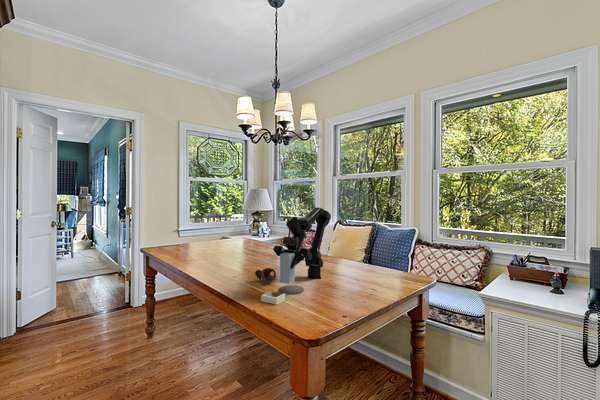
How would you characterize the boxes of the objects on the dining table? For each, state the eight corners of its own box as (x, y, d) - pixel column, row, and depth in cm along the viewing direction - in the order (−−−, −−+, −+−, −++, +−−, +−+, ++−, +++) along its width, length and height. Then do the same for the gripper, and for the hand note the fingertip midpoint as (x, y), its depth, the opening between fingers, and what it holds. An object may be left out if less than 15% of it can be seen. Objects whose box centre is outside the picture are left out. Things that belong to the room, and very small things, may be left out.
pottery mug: (278, 280, 155) (279, 269, 151) (271, 292, 147) (273, 281, 143) (257, 273, 157) (258, 262, 153) (250, 285, 149) (251, 274, 145)
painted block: (285, 279, 137) (285, 252, 137) (294, 280, 135) (294, 253, 134) (279, 282, 133) (279, 254, 132) (289, 283, 130) (289, 255, 130)
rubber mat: (302, 286, 144) (302, 284, 144) (305, 293, 132) (305, 292, 132) (278, 286, 142) (278, 285, 142) (279, 294, 130) (279, 293, 130)
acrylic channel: (270, 296, 128) (270, 290, 128) (285, 299, 124) (285, 293, 124) (261, 301, 122) (261, 295, 122) (276, 304, 118) (276, 298, 118)
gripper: (274, 229, 141) (261, 256, 132) (308, 231, 132) (297, 260, 123) (283, 242, 148) (271, 268, 139) (316, 245, 139) (306, 273, 130)
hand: (285, 267), depth 132 cm, fingers closed on painted block, 5 cm apart
